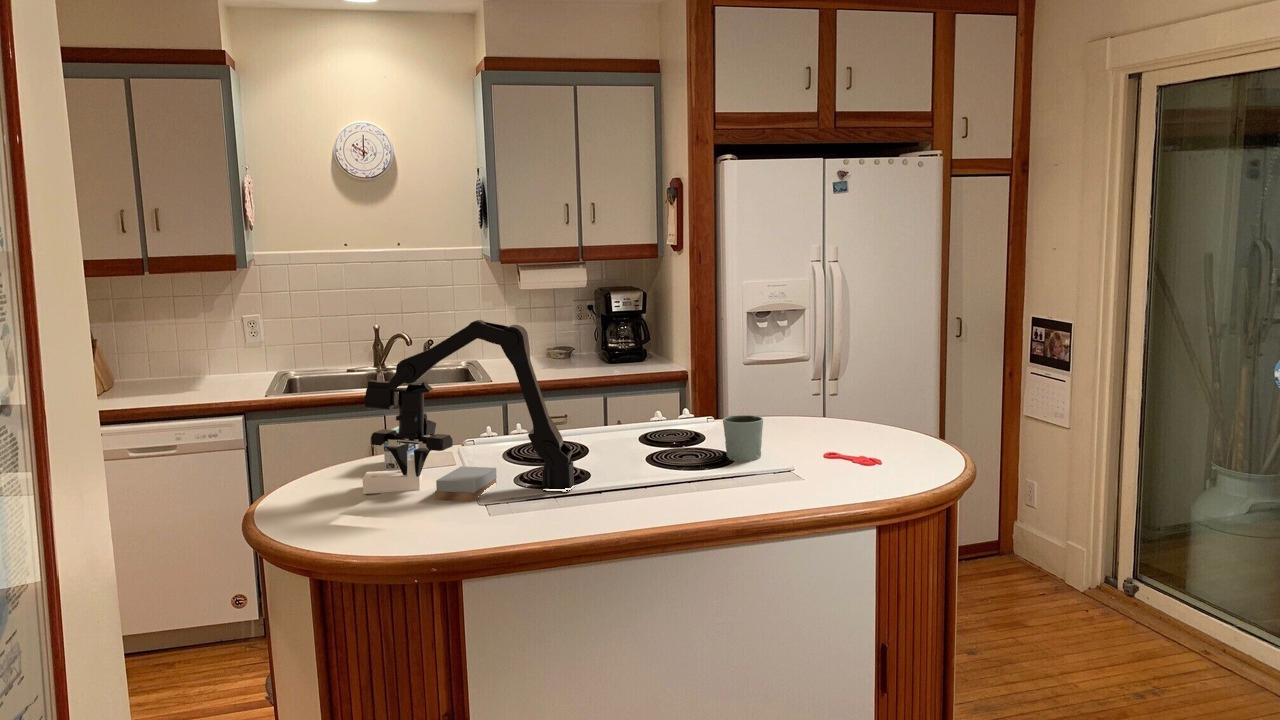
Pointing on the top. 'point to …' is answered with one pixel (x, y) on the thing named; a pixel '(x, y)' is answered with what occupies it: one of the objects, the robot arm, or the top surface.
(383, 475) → the bracket
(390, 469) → the light bulb box
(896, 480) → the top surface
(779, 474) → the top surface
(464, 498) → the walnut slab
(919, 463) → the top surface
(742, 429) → the green cup
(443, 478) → the slate slab
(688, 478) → the top surface
